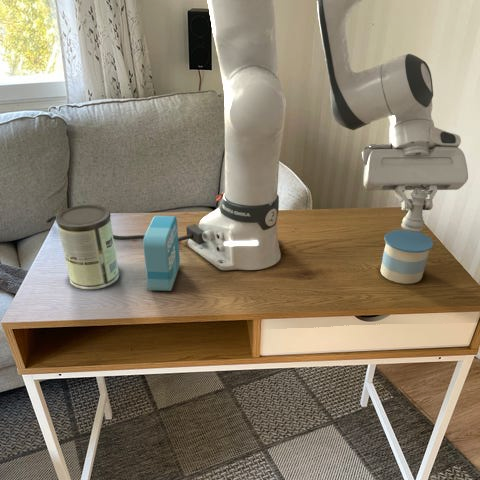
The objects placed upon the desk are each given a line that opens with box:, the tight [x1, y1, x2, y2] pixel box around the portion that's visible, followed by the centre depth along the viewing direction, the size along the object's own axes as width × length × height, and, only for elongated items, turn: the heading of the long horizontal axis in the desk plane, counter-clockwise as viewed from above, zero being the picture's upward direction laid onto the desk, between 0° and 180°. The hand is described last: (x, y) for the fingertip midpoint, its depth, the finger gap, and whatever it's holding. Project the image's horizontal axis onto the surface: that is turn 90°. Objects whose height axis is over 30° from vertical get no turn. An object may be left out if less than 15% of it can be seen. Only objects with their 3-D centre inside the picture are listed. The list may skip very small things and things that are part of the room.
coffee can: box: [55, 204, 120, 291], centre depth 101 cm, size 10×10×14 cm
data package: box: [142, 215, 181, 292], centre depth 102 cm, size 12×4×12 cm, turn 176°
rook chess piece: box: [400, 188, 429, 232], centre depth 100 cm, size 4×4×8 cm
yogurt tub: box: [380, 229, 434, 285], centre depth 106 cm, size 10×10×8 cm
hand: (417, 209), depth 99 cm, fingers closed on rook chess piece, 3 cm apart
